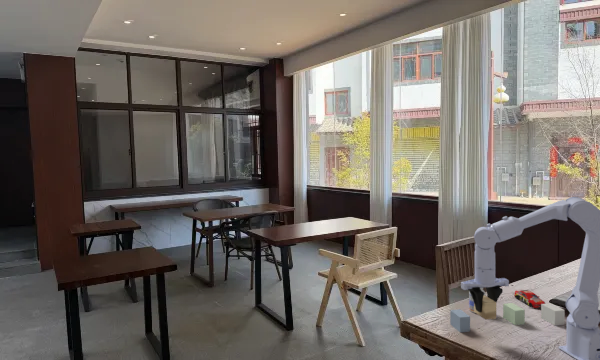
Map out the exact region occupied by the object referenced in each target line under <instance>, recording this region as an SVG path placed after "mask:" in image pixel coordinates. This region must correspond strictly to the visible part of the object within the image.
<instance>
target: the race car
mask: <svg viewBox="0 0 600 360" xmlns="http://www.w3.org/2000/svg"><path fill="white" fill-rule="evenodd" d="M514 298H515V299H516V300H518V301H520V302H521V303H524V304H525V305H527V306H529V308H531V309H541V304H546V302H545V301H544V300H543V299H541V298H540V296H539V295H537V294H536V293H535V292H533V291H530V290H526V289H525V290H524V289H516V290H515V291H514Z"/></svg>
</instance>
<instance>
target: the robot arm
mask: <svg viewBox="0 0 600 360" xmlns="http://www.w3.org/2000/svg"><path fill="white" fill-rule="evenodd" d="M568 218H569V219H570V220H571V221H573V222H575V224H577V225H578V226H580V228H581V229H582V230H583V231H584V232H585V236H584V237H585V238H584V242H583V245H582V246H583V247H582V252H581V257H580V258H581V259H580V264H579V266H578V267H579V268H578V272H577V277H576V282H575V286H574V287H573V289H572V290H571V294H570V295H569V296H568V297H567V299H566V301H565V307H566V310H567V311H568V312H569V314H568V316H567V317H566V330H565V331H566V341H565V342H566V344H565V345H558V347H557V348H558V349H559V350H561V351H562V352H564V353H566V354H567V355H569V356H571V357H572V358H574V359H575V360H600V327H599V324H600V313H599V306H600V305H599V304H600V302H599V297H598V291H599V287H600V209H599V208H598V207H597V206H595V205H594V204H593V203H592V202H590V201H587V200H586V199H583V198H582V197H579V196H571V197H569V198H566V199H562V200H557V201H556V202H553V203H550V204H549V205H546V206H544V207H541V208H539V209H537V210H534V211H532V212H529V213H528V214H525V215H523V216H520V217H519V218H518V217H514V216H509V217H508V216H507V215H505V216H503V217H502V219H501V220H499V221H497V222H494V223H492V224H491V223H487V224H486V226H480V227H478V228H477V229H476V230H475V232H474V234H473V238H474V242H475V244H474V278H473V279H469V280H465V281H461V282H460V288H461V289H462V290H463V291H468V293H469V292H470V294H471V296H472V298H473V301H474V304H475V308H476V310H477V311H478V312H482V301H483V296H484V292H482V291H481V289H480V288H483V289H484V288H485V290H486V296H487V297H488V298H490V299H492V300H493V301H495V302H496V304H497V302H498V300H499V298H500V297H501V295H502V293H503V288H501V287H509V286H510V281H509V279H507V278H505V277H501V278H500V277H499V278H497V277H496V252H495V246H496V245H497V244H496V243H501V242H505V241H507V240H510V239H512V238H515V237H519V236H521V235H522V233H523V231H524V229H527V228H530V227H534V226H536V225H538V224H539V225H540V224H541V223H544V222H548V221H551V220H559V221H565V222H567V221H568Z"/></svg>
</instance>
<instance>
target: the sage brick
mask: <svg viewBox="0 0 600 360" xmlns="http://www.w3.org/2000/svg"><path fill="white" fill-rule="evenodd" d="M502 304H503V305H502V306H503V307H502V310H503V313H502V319H504V320H506V321H508V322H509V323H511V324H512V325H514V326H520V325H525V324H526V323H525V322H526V321H525V317H526V315H525V312H526V310H525V309H524V308H522V307H520V306H519V305H517V304H515V303H513V302H509V303H502Z"/></svg>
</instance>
